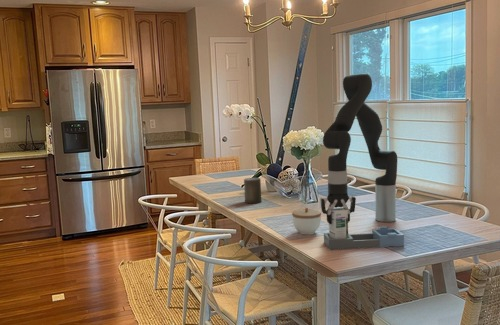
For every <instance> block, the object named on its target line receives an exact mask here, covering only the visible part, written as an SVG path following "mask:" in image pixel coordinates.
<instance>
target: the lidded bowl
mask: <svg viewBox="0 0 500 325" xmlns="http://www.w3.org/2000/svg"><path fill="white" fill-rule="evenodd" d="M291 215H292V223H293V226H294V228H295V229H296V230H297V232H298V234H301V235H307V236H308V235H314V234H316V232H317V231H318V230H319V228H320V226H321V221H322V211H320V210H318V209H313V208H312V209H311V208H309V207H304V208H301V209H297V210H294V211H292V212H291Z"/></svg>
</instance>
